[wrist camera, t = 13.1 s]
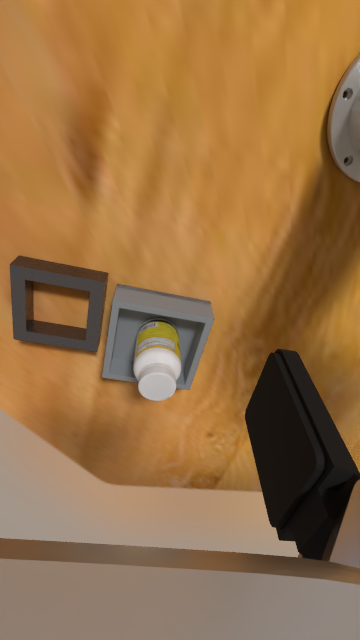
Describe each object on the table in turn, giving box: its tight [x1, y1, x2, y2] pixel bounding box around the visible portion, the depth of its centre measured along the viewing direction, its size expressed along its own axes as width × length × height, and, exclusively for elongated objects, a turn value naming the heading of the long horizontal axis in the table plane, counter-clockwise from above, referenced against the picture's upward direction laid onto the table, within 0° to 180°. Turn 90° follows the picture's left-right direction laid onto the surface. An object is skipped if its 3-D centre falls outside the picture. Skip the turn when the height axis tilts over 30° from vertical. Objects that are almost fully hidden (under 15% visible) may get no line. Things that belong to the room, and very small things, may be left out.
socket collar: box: [10, 256, 108, 352], centre depth 38 cm, size 10×10×2 cm
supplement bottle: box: [133, 318, 181, 401], centre depth 37 cm, size 5×5×10 cm
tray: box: [102, 284, 214, 390], centre depth 41 cm, size 12×12×4 cm
